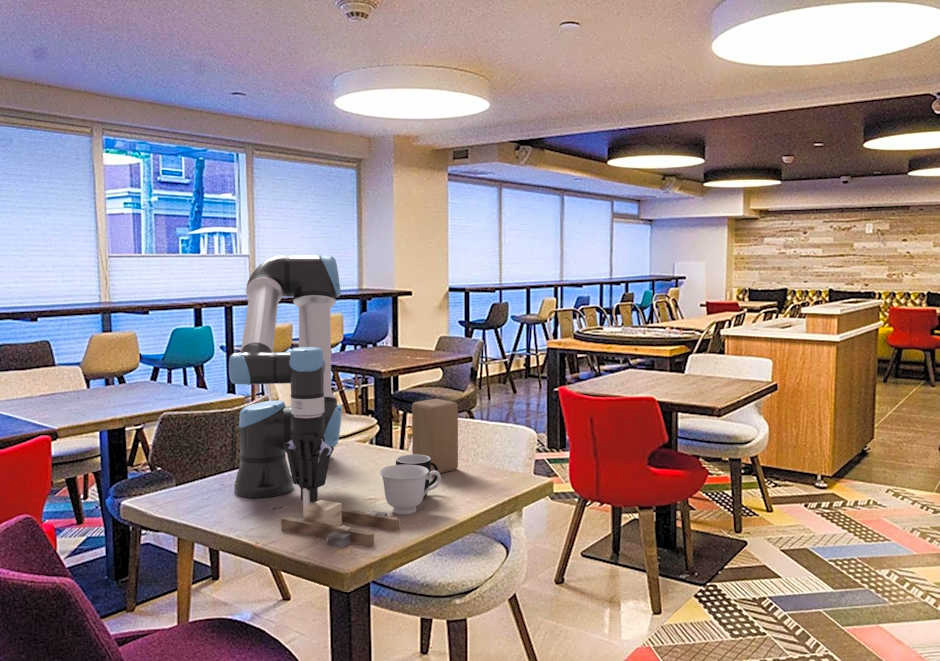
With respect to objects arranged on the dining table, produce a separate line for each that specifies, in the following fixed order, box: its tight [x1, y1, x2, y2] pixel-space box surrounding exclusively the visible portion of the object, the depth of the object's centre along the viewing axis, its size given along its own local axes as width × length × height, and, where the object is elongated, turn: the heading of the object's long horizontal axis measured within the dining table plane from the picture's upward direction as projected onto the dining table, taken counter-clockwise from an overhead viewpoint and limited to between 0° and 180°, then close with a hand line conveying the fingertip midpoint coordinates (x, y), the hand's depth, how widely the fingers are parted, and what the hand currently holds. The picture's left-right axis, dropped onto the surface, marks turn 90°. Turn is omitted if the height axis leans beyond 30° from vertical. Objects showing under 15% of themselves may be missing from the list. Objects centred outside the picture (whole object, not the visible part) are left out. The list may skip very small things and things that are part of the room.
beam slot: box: [280, 507, 400, 548], centre depth 173 cm, size 24×18×3 cm
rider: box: [303, 499, 343, 527], centre depth 175 cm, size 6×6×5 cm
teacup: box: [379, 464, 442, 516], centre depth 185 cm, size 12×15×10 cm
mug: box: [395, 453, 438, 500], centre depth 197 cm, size 12×9×10 cm
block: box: [411, 398, 459, 474], centre depth 221 cm, size 10×10×20 cm
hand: (309, 515), depth 176 cm, fingers closed
